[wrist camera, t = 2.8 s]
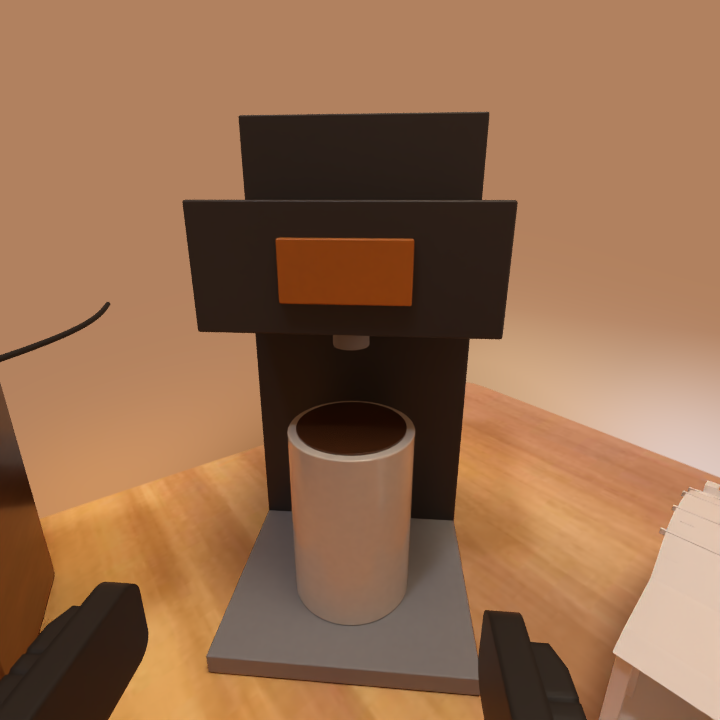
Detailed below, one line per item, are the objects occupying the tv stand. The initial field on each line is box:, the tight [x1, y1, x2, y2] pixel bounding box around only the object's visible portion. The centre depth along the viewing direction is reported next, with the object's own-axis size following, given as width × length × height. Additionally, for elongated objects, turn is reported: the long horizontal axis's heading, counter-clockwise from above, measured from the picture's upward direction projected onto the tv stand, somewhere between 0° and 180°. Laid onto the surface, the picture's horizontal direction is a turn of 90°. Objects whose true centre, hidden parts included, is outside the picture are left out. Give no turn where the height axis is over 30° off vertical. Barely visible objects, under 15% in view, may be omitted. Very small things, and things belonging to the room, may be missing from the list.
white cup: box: [287, 401, 415, 625], centre depth 22 cm, size 6×6×9 cm
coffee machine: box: [183, 112, 517, 695], centre depth 23 cm, size 16×12×24 cm
